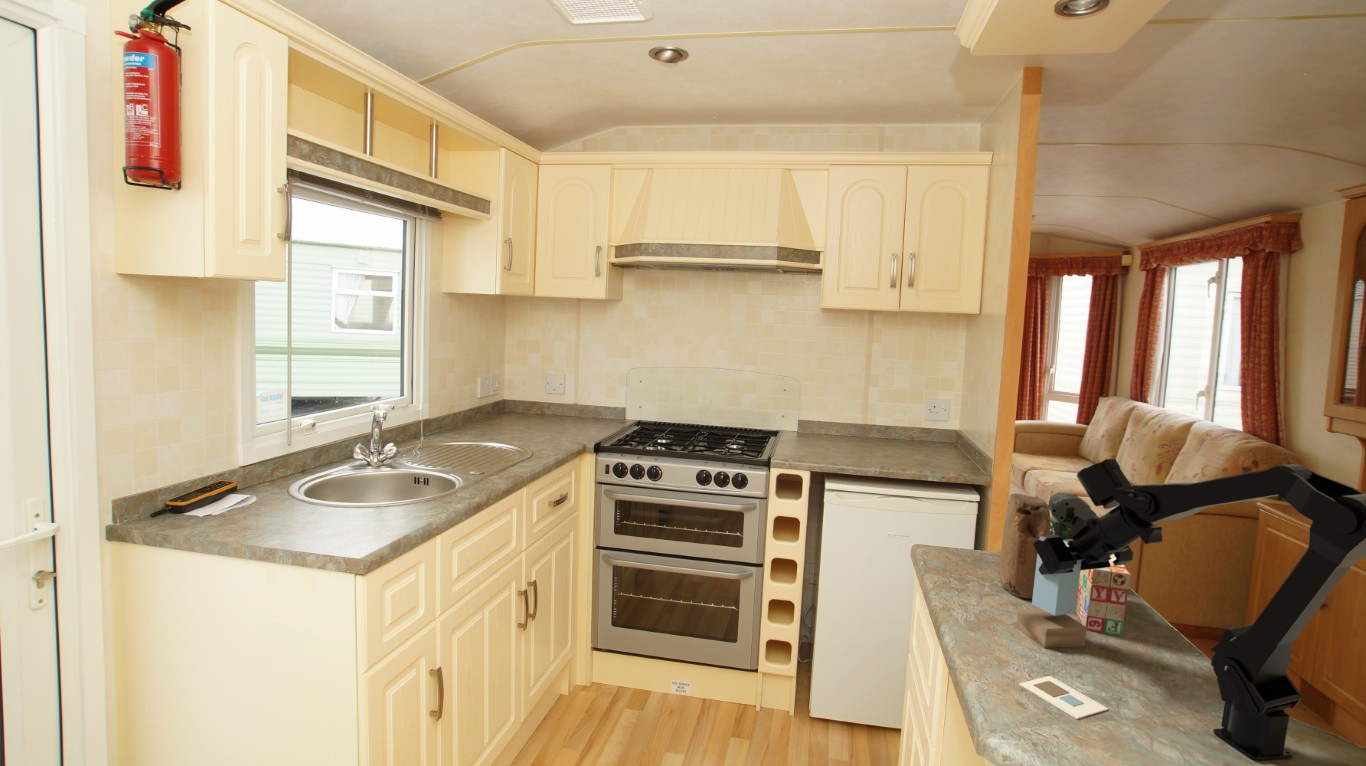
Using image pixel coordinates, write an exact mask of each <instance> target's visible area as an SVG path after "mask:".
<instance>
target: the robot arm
mask: <svg viewBox="0 0 1366 766" xmlns="http://www.w3.org/2000/svg"><path fill="white" fill-rule="evenodd" d="M1076 477H1077V479H1078V481H1079V483H1080V484H1081V486H1082V487H1083V489H1084V490H1085V492H1086V494H1087V496H1089V498H1090V501H1091V502H1092V504H1093V505H1094V506H1095V507H1101V506H1102V507H1103V509H1106V510H1107V509H1108V510H1109V509H1111V510H1110V511H1108V512H1107V513H1105V514H1104V515H1102V516H1100V517H1099V516H1098V515H1097V514H1096V512H1095V511H1094V510H1093V509H1092V508H1091V507H1090V508H1091V509H1090V508H1089V507H1088V506H1087V505H1086V504H1085V503H1083V502H1082V501H1081V500H1079V499H1076V498H1073V499H1062V500H1061V501H1058V502H1057V503H1056V504H1055V505H1052V511H1051V514H1052V516H1053V517H1054V518H1055V519H1057V520H1058V521H1059V522H1060V523H1064V524H1065V525H1066V526H1067V527H1068V528H1070V530H1069V531H1067V533H1068V535H1069V537H1070V538H1072V539H1073V541H1068V542H1067V544H1068V545H1069V547H1067V546H1066V545H1065V543H1064V541H1063V539H1062V538H1061V537H1060V536H1058V535H1055V534H1053V535H1044V536H1039V537H1038V538H1037V539H1035V540H1034V541H1033V545H1034V547H1035V549H1036V551H1037V553H1038V555H1039V556H1040V558H1041V560H1042V564H1041V566H1040V567H1039V572H1040V574H1041V575H1045V574H1060V573H1070V572H1074V571H1073V568H1074V565H1076V564H1077V561H1080V560H1081V569H1080V570H1088V569H1099V568H1107V567H1110V566H1111V565H1110V562H1109V560H1111V557H1110V556H1111V555H1112V554H1114V556H1115V557H1116V560H1114V561H1113V564H1114V566H1117V565H1124V566H1126V564H1128V563H1130V562H1132V561H1133V558H1134V551H1132V548H1131V547H1130V546H1129V545H1130V544H1132V543H1134V542H1135V541H1137V540H1139V539H1141V540H1142V542H1143V544H1145V545H1151V544H1152V545H1153V544H1160V543H1162V542H1163V534H1162V531H1163V527H1162V526H1158V525H1156V523H1157V522H1164V521H1165V522H1166V521H1175V520H1180V519H1183V518H1186V517H1190V516H1192V515H1196V514H1197V513H1199V512H1202V511H1203V510H1205V509H1208V508H1211V507H1216V506H1220V505H1221V506H1222V505H1229V504H1233V503H1241V502H1247V501H1253V500H1259V499H1265V498H1271V497H1278V496H1279V497H1280V498H1282V499H1284V500H1285V501H1286V502H1287V503H1288V504H1289V505H1290V506H1291V507H1292V508H1294V509H1295V510H1296V511H1297V512H1298V513H1299V514H1300V515H1302V516H1304V517H1305V518H1308V519H1309V520H1311V524H1310V527H1309V530H1308V547H1307V548H1306V550H1305V552H1304V553H1303V555H1302V556H1301V558H1300V559H1299V560H1298V562H1297V563H1296V565H1295V566H1294V567H1293V569H1292V570H1291V571H1290V573H1289V574H1288V575H1287V577H1286V578H1285V580H1283V583H1282V584H1281V585H1280V586H1279V588H1278V589H1277V591H1276V592H1275V593H1274V595H1273V596H1272V597H1271V599H1269V601H1268V603H1267V604H1266V606H1265V607H1264V608H1263V610H1262V611H1261V613H1260V614H1259V616H1258V617H1257V618H1256V619H1255V620H1254V623H1252V624H1247V625H1242V626H1237V627H1233V628H1228V629H1225V631H1224V632H1223V634H1222V635H1221V638H1220V640H1219V642H1218V643H1217V644H1216V646H1214V647H1212V648H1210V651H1211V652H1214V653H1213V654H1212V657H1211V659H1210V660H1211V661H1210V662H1211V663H1210V664H1211V667H1212V669H1213V671H1214V674H1215V677H1216V679H1217V684H1218V688H1219V692H1220V698H1221V701H1223V702H1224V703H1223V704H1224V705H1223V706H1224V707H1223V711H1222V716H1221V717H1222V718H1221V728H1214V729H1213V731H1212V733H1213V734H1214V735H1216V736H1217V737H1218V738H1220V739H1222V740H1223V741H1225V742H1226V743H1227V744H1229V745H1230V746H1232V747H1234V748H1235V749H1237V750H1238V751H1239V752H1241V753H1242V754H1244V755H1245V756H1246V757H1249V759H1250V760H1251V759H1252V760H1253V761H1254V760H1255V761H1263V760H1265V761H1266V760H1276V759H1277V760H1278V759H1289V758H1290V759H1291V758H1293V753H1292V751H1289V750H1288V749H1287V748H1286V747H1285V745H1286V739H1287V732H1288V726H1289V720H1290V715H1289V714H1288V713H1286V712H1285V710H1287V709H1290V708H1292V709H1293V708H1296V707H1297V706H1298V704H1300V702H1301V701H1302V700H1303V695H1302V693H1300V691H1299V690H1298V688H1297V687H1296V685H1295V684H1294V682H1293V681H1292V679H1291V678H1290V677H1289V674H1287V670H1288V667H1289V665H1290V663H1291V661H1292V645H1293V643H1294V641H1295V640H1296V639H1297V638H1298V636H1299V635H1300V633H1301V632H1302V631H1303V630H1304V628H1305V627H1306V626H1307V624H1308V623H1310V620H1311V619H1312V618H1313V616H1314V615H1315V614H1316V613H1317V611H1318V610H1319V609H1320V608H1321V606H1322V605H1323V603H1324V602H1325V601H1326V600H1327V598H1328V597H1329V596H1330V594H1331V593H1332V592H1333V590H1334V589H1335V588H1336V587H1337V585H1338V584H1339V583H1340V581H1341V580H1342V579H1343V577H1344V576H1345V575H1346V574H1347V573H1348V571H1349V570H1350V568H1351V567H1353V565H1355V564H1356V563H1357V562H1360V560H1362V559H1363V558H1366V493H1365V492H1362V491H1361V490H1359V489H1357V488H1355V487H1353V486H1350V485H1348V484H1346V483H1343V482H1340V481H1337V480H1335V479H1332V478H1329V477H1327V476H1325V475H1322V474H1320V473H1317V472H1316V471H1313V470H1312V469H1310V468H1308V467H1306V466H1305V465H1302V464H1299V463H1298V464H1297V463H1295V464H1292V463H1291V464H1277V465H1274V466H1270V467H1269V468H1265V469H1261V470H1256V471H1255V470H1254V471H1250V472H1246V473H1245V472H1244V473H1240V474H1236V475H1235V474H1234V475H1230V476H1224V477H1219V478H1214V479H1207V480H1203V481H1199V482H1198V481H1197V482H1165V483H1153V484H1152V483H1151V484H1140V485H1139V484H1138V485H1132V484H1131V483H1130V481H1129V480H1128V478H1127V477H1126V475H1125V474H1124V472H1123V471H1122V470H1121V467H1120V465H1119V462H1118V461H1117V459H1116V458H1105V459H1104V460H1102V462H1101V461H1099V462H1097V463H1094V464H1092V465H1090V466H1087V467H1084V468H1082V469H1081V470H1079V471H1078V472H1077V474H1076ZM1155 522H1156V523H1155Z"/></svg>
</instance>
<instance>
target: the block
mask: <svg viewBox="0 0 1366 766" xmlns="http://www.w3.org/2000/svg"><path fill="white" fill-rule="evenodd" d="M1005 514H1006V515H1005V521H1004V527H1003V534H1002V535H1003V536H1002V543H1001V544H1002V545H1001V553H1000V562H999V582H1000V585H1001V587H1002V588H1003V589H1004V590H1006V591H1007V592H1008V593H1010V594H1011V595H1012V596H1015V597H1019V598H1023V599H1032V598H1033V589H1034V580H1035V571H1036V562H1037V551H1036V549H1035V547H1034V545H1033V541H1034V540H1035V539H1037V538H1038V537H1039V536H1044V535H1050V524H1051V523H1050V510H1049V507H1048V503H1046V501H1045V500H1044V499H1042V498H1041V497H1038V496H1031V495H1027V494H1022V493H1011V494H1010V495H1009V498H1008V502H1007V508H1006V513H1005Z"/></svg>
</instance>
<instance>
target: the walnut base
mask: <svg viewBox="0 0 1366 766" xmlns="http://www.w3.org/2000/svg"><path fill="white" fill-rule="evenodd" d="M1015 626H1016V628H1017V629H1018V630H1019V631H1020V632H1022V633H1023V634H1025V635H1027V637H1029V638H1030V639H1032V640H1033V641H1035V642H1036V643H1037V644H1039V645H1040V646H1041V647H1043V648H1044V649H1046V648H1047V649H1049V648H1071V647H1073V648H1075V647H1085V645H1086V638H1087V631H1088V630H1087V627H1085V626H1084V625H1082V623H1081V622H1080V621H1078V620H1076V619H1074V618H1073V617H1072V616H1070V615H1069V614H1062V615H1056V616H1054V615H1052V614H1050V613H1048V612H1046V611H1044V610H1042V609H1040V608H1018V609H1017V617H1016V625H1015Z"/></svg>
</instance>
